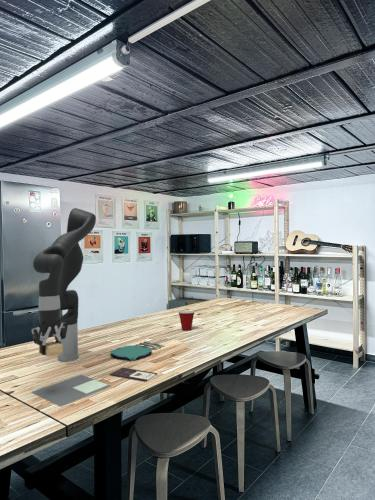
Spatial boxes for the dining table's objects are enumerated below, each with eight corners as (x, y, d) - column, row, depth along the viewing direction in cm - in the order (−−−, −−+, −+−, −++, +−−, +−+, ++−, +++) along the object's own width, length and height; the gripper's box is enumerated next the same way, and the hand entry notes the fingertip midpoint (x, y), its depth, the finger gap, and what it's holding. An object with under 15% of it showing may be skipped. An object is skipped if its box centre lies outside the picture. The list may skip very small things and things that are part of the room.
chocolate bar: (122, 367, 160) (157, 373, 152) (122, 369, 160) (157, 375, 152) (109, 374, 152) (145, 380, 144) (109, 376, 152) (145, 383, 144)
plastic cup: (195, 327, 234) (195, 309, 233) (194, 332, 223) (194, 312, 223) (179, 327, 235) (179, 309, 234) (177, 331, 224) (176, 312, 224)
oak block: (38, 352, 135) (38, 343, 135) (51, 349, 139) (51, 340, 139) (50, 357, 130) (49, 347, 130) (62, 353, 134) (62, 344, 133)
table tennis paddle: (102, 356, 177) (102, 352, 177) (142, 343, 202) (142, 339, 202) (132, 364, 166) (132, 359, 166) (170, 348, 191) (170, 344, 191)
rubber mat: (30, 393, 134) (30, 391, 134) (81, 376, 151) (81, 374, 151) (60, 408, 122) (60, 406, 122) (111, 387, 139) (111, 385, 139)
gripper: (61, 303, 142) (62, 346, 142) (25, 309, 131) (26, 355, 131) (72, 305, 137) (73, 350, 137) (35, 311, 126) (37, 360, 126)
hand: (50, 352), depth 134 cm, fingers closed on oak block, 5 cm apart
